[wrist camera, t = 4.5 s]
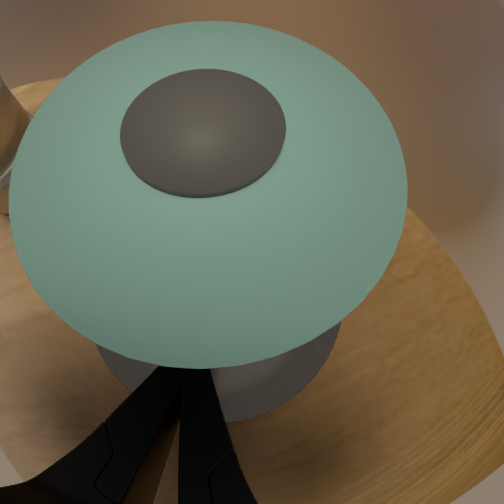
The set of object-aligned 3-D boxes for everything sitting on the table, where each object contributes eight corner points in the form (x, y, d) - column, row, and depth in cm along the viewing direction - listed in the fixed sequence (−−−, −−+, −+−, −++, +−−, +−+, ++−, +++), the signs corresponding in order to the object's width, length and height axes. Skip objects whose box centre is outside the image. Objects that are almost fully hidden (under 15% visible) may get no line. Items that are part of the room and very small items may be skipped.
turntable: (378, 303, 16) (390, 299, 15) (201, 462, 12) (200, 472, 11) (231, 141, 18) (232, 128, 17) (55, 271, 14) (44, 265, 13)
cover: (313, 291, 15) (489, 186, 4) (202, 385, 13) (159, 521, 2) (223, 189, 16) (241, -15, 5) (114, 270, 14) (-39, 133, 3)
